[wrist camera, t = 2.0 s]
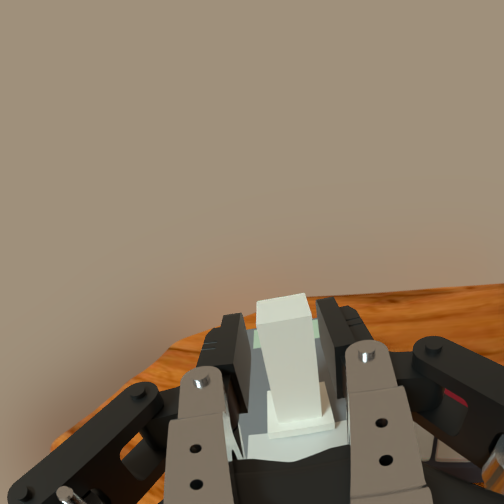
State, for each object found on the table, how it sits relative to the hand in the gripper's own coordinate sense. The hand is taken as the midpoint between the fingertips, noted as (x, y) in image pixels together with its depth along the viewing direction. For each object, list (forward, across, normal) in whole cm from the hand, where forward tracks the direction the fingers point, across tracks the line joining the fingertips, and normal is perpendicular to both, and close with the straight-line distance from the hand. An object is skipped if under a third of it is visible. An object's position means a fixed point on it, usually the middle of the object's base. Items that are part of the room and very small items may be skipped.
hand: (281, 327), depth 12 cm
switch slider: (+10, 0, +16) cm, 19 cm away
